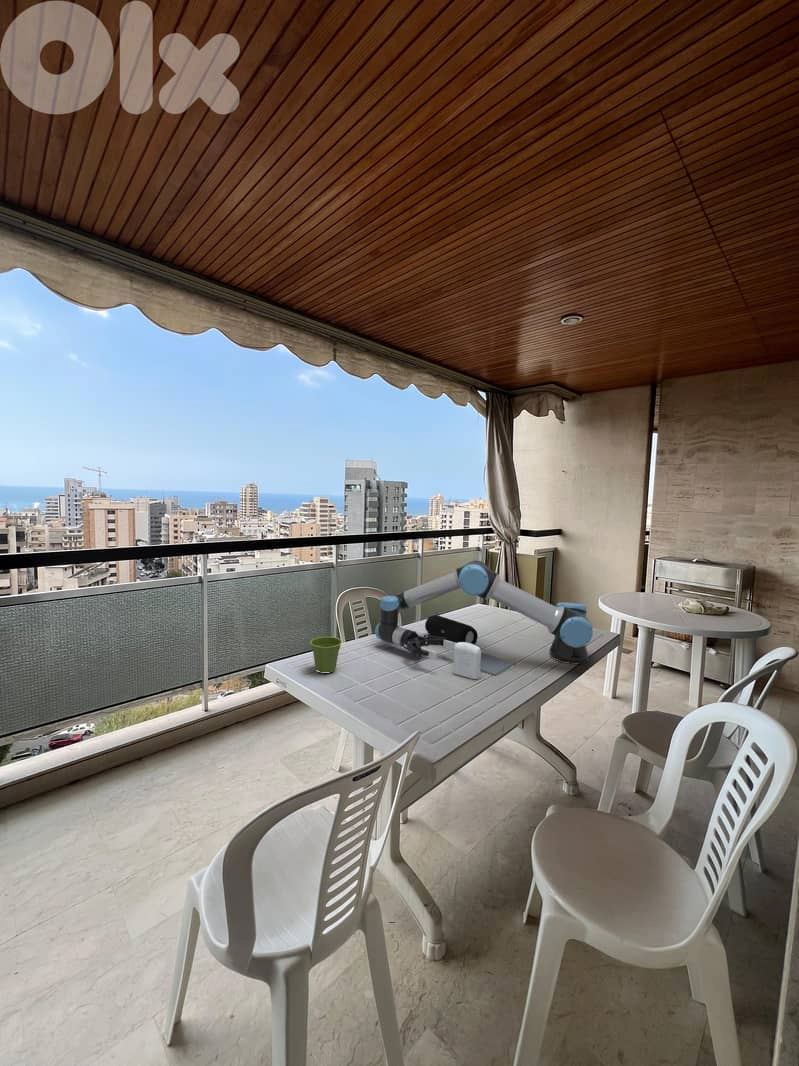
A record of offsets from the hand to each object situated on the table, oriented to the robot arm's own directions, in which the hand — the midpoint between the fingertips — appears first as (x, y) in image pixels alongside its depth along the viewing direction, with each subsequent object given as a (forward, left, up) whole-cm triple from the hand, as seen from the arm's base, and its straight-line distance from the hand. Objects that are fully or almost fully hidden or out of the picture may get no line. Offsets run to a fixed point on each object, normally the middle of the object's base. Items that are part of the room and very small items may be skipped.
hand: (447, 651), depth 167 cm
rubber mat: (-9, -15, -7) cm, 19 cm away
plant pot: (+31, +34, -7) cm, 46 cm away
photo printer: (-9, 0, -7) cm, 11 cm away
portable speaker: (+18, -27, -7) cm, 33 cm away
